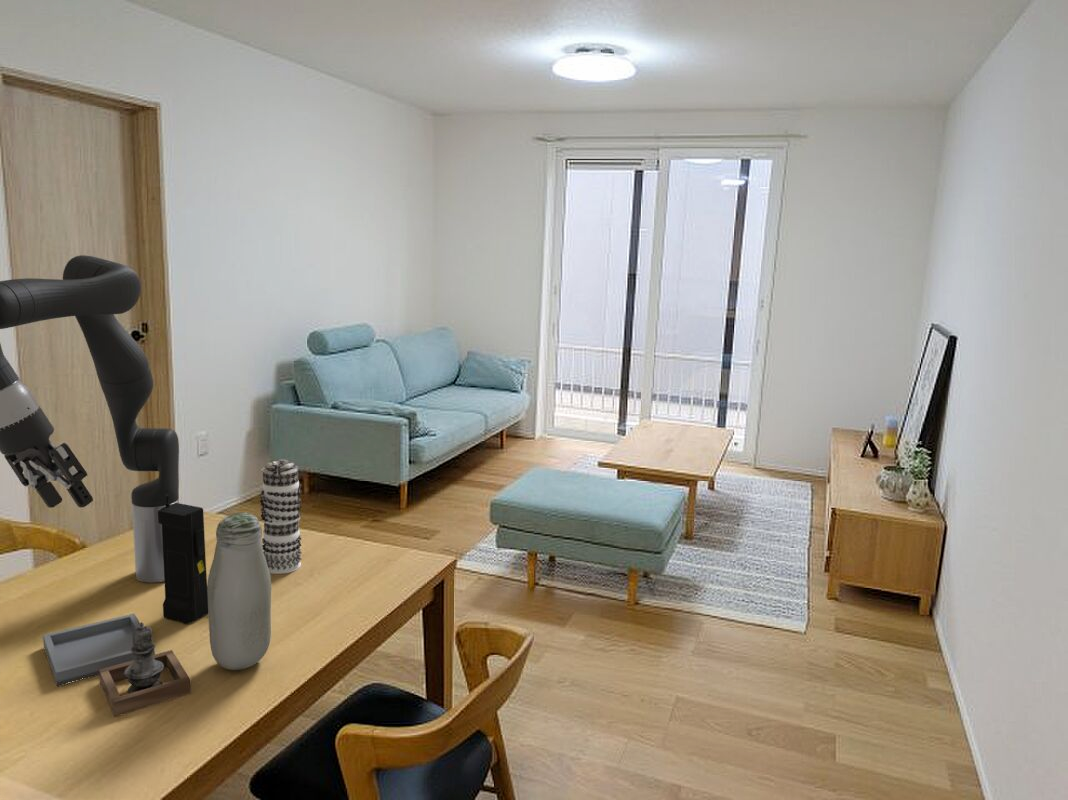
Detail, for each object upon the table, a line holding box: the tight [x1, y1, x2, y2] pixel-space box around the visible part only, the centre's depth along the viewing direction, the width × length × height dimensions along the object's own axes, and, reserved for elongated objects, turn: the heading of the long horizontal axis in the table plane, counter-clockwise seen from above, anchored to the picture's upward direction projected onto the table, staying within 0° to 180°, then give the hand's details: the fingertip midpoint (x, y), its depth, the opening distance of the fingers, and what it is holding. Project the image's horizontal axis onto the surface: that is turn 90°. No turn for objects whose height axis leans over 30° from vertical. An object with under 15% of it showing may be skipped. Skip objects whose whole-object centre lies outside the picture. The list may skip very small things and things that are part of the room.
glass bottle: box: [207, 512, 272, 671], centre depth 134 cm, size 10×10×28 cm
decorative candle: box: [259, 459, 303, 575], centre depth 176 cm, size 9×9×25 cm
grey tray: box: [42, 613, 155, 687], centre depth 138 cm, size 15×15×2 cm
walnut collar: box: [98, 649, 192, 718], centre depth 128 cm, size 11×11×2 cm
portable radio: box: [158, 495, 208, 625], centre depth 151 cm, size 8×6×25 cm
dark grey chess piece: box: [124, 621, 164, 694], centre depth 127 cm, size 6×6×12 cm
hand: (71, 504), depth 121 cm, fingers open, 8 cm apart
